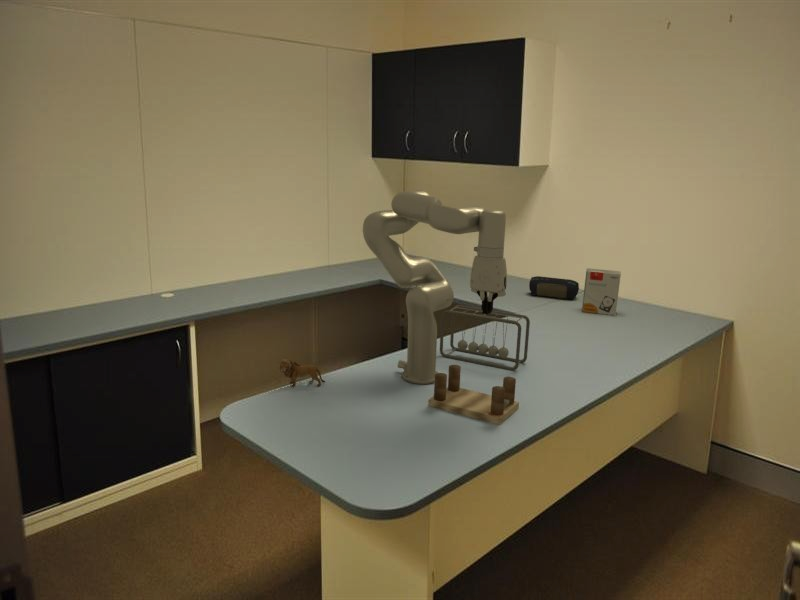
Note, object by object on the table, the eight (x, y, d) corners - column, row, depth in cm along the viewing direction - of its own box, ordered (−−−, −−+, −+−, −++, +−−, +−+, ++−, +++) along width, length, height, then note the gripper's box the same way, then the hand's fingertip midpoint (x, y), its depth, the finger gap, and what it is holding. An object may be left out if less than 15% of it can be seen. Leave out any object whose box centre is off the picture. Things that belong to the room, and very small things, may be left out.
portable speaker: (526, 296, 334) (527, 277, 332) (530, 292, 343) (531, 273, 341) (575, 302, 325) (577, 282, 322) (578, 297, 334) (580, 278, 331)
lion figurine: (279, 389, 202) (279, 362, 200) (278, 383, 207) (277, 357, 205) (326, 386, 206) (326, 359, 203) (324, 380, 211) (324, 354, 208)
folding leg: (504, 398, 194) (505, 376, 192) (515, 400, 192) (517, 378, 190) (488, 412, 183) (490, 389, 181) (500, 415, 181) (502, 392, 179)
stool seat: (428, 405, 193) (429, 375, 190) (449, 391, 204) (451, 362, 202) (499, 424, 181) (502, 393, 179) (518, 408, 193) (520, 378, 190)
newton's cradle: (438, 356, 237) (441, 309, 233) (450, 348, 246) (452, 303, 242) (517, 372, 223) (521, 322, 219) (526, 363, 232) (530, 315, 228)
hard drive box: (581, 312, 305) (585, 270, 300) (582, 308, 312) (586, 267, 307) (616, 315, 300) (620, 273, 296) (615, 311, 307) (620, 270, 303)
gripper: (461, 251, 189) (458, 311, 194) (509, 257, 182) (505, 320, 186) (472, 248, 196) (469, 306, 200) (519, 253, 188) (515, 314, 193)
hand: (486, 313), depth 193 cm, fingers closed
